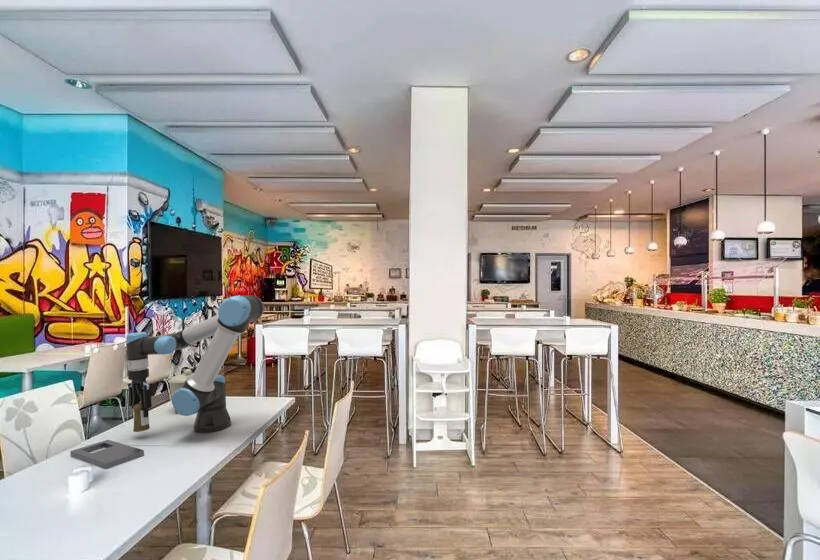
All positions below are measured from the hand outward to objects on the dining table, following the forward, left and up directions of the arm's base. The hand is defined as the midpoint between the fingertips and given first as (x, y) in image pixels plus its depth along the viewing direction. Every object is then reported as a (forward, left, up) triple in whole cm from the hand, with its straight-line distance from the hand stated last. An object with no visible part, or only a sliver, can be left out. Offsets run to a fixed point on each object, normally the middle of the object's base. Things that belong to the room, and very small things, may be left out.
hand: (141, 423), depth 184 cm
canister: (+19, -34, -6) cm, 39 cm away
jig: (-8, +17, -6) cm, 20 cm away
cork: (0, 0, -3) cm, 3 cm away
